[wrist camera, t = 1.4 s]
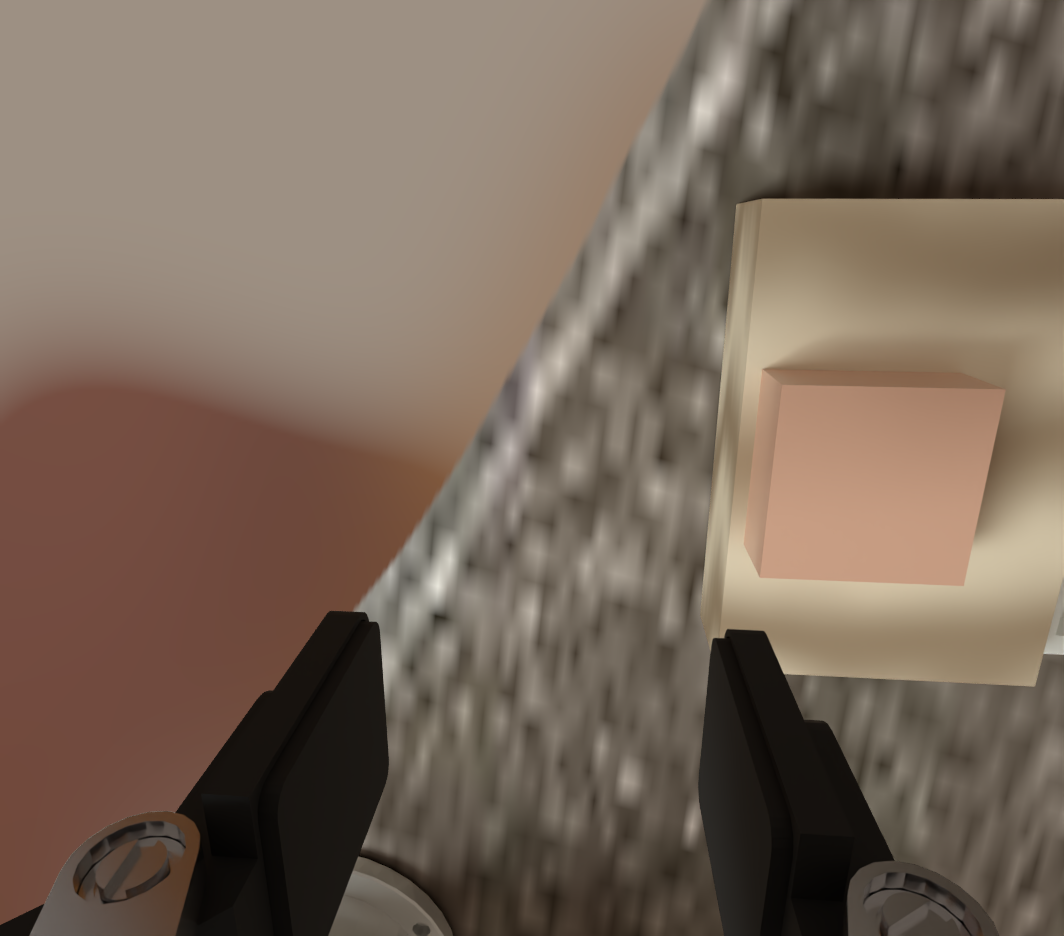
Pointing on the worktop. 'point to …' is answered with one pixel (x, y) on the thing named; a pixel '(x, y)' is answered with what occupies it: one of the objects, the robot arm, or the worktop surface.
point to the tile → (869, 474)
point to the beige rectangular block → (906, 346)
